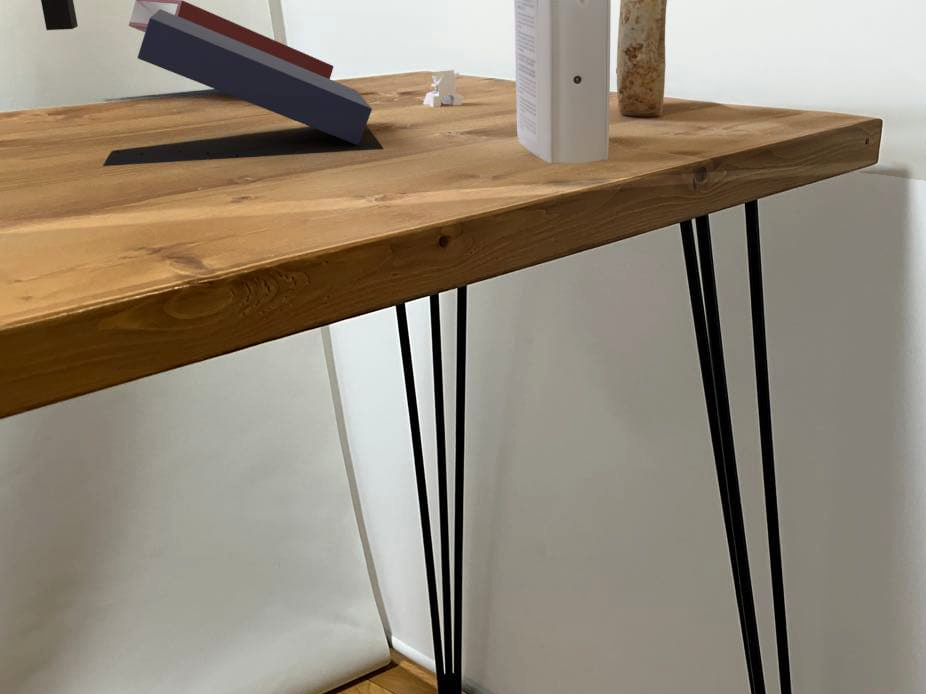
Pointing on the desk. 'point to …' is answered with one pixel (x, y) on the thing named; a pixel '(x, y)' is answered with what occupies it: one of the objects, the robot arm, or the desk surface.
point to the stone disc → (641, 57)
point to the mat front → (243, 147)
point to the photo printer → (563, 78)
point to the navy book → (254, 76)
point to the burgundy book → (225, 31)
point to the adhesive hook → (444, 90)
